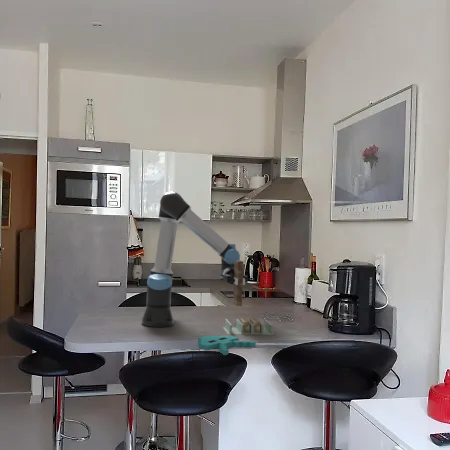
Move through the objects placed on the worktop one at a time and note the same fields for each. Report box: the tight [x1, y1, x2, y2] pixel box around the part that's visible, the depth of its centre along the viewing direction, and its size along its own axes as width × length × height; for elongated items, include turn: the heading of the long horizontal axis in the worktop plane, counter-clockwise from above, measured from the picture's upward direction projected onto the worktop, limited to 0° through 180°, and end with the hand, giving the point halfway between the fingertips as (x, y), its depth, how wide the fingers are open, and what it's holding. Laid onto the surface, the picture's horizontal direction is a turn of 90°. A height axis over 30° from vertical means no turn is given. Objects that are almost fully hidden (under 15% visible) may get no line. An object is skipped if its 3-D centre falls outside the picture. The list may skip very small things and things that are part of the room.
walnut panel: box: [232, 259, 244, 307], centre depth 214 cm, size 2×8×20 cm, turn 9°
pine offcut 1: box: [239, 317, 250, 333], centre depth 215 cm, size 3×8×5 cm, turn 9°
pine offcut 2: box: [249, 317, 261, 333], centre depth 215 cm, size 3×8×5 cm, turn 9°
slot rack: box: [222, 318, 276, 336], centre depth 215 cm, size 22×13×5 cm, turn 99°
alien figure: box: [197, 335, 256, 356], centre depth 191 cm, size 20×2×20 cm
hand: (240, 281), depth 209 cm, fingers closed on walnut panel, 2 cm apart
